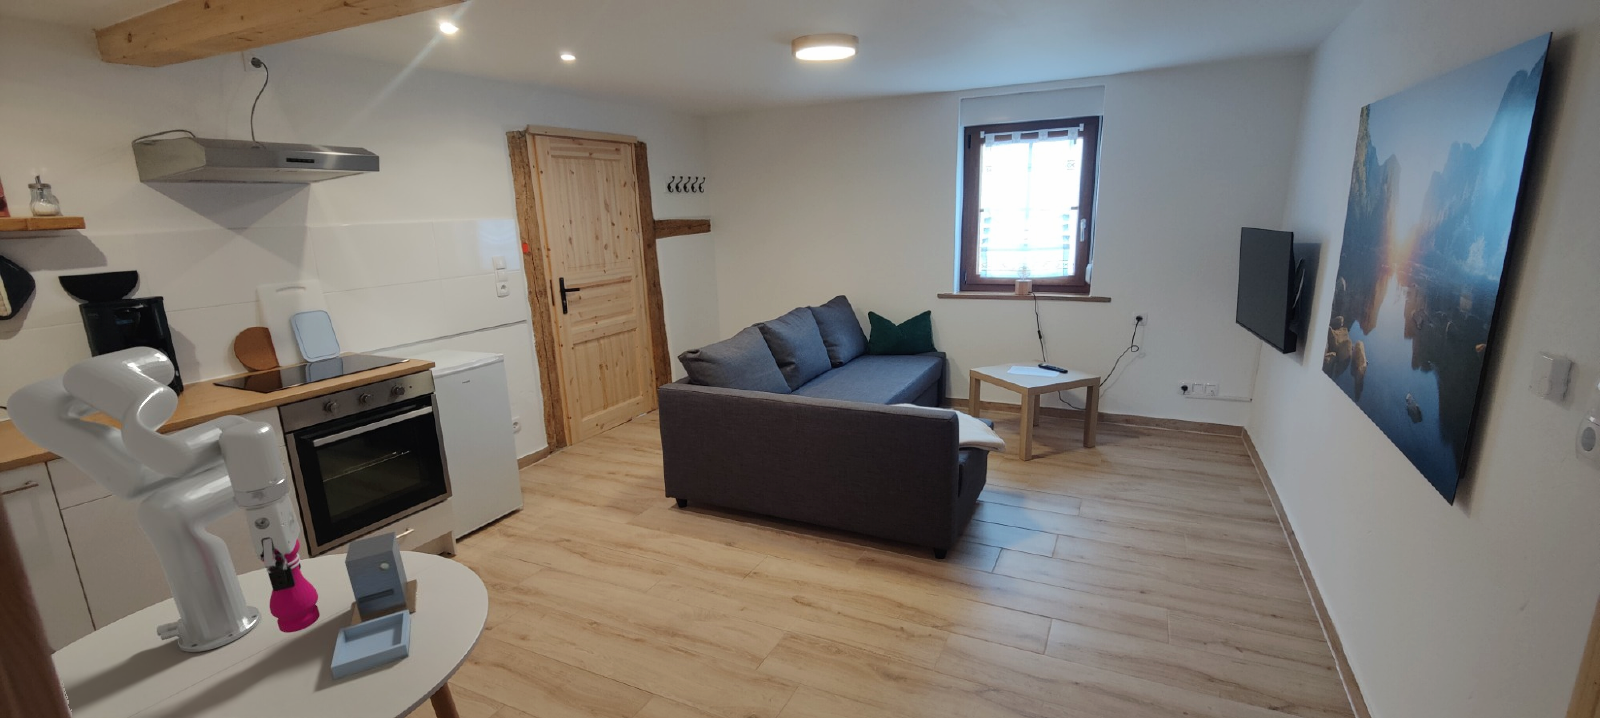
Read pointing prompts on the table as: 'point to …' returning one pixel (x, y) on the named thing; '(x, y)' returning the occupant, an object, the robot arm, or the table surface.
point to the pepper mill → (294, 599)
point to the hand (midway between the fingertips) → (287, 578)
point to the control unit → (379, 578)
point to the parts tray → (371, 644)
